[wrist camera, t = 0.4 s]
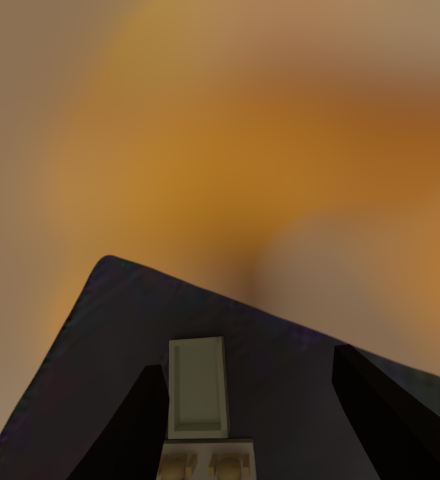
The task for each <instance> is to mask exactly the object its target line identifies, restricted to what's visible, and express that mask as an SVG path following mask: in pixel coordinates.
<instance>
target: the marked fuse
mask: <svg viewBox="0 0 440 480" xmlns="http://www.w3.org/2000/svg"><path fill="white" fill-rule="evenodd" d="M184 477H185V461H184V460H183V459H181V458H173V459H169V460H167V461H165V462H164V463H163V464H162V466H161V480H184Z"/></svg>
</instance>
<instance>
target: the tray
mask: <svg viewBox="0 0 440 480" xmlns="http://www.w3.org/2000/svg"><path fill="white" fill-rule="evenodd" d="M169 397H170V403H169V430H168V439H195V438H228V436H229V432H230V414H229V400H228V386H227V372H226V357H225V343H224V336H219V337H205V338H191V339H177V340H170V341H169Z"/></svg>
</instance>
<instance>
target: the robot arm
mask: <svg viewBox="0 0 440 480" xmlns="http://www.w3.org/2000/svg"><path fill="white" fill-rule="evenodd" d="M332 384H333V386H334V389H335V391H336V394H337V396H338V398H339V401H340V403H341V405H342V408H343V410H344V412H345V414H346V416H347V418H348V420H349V422H350V423H351V425H352V427H353V429H354V431H355V433H356V435H357V437H358V438H359V440H360V442H361V444H362V446H363V448H364V450H365V451H366V453H367V455H368V457H369V459H370V461H371V463H372V464H373V466H374V468H375V470H376V472H377V474H378V475H379V477H380V479H381V480H440V417H439V416H438V415H436V414H435V413H434V412H432V411H431V410H430V409H428V408H427V407H426V406H424V405H423V404H422V403H421V402H419V401H418V400H417V399H415V398H414V397H413V396H412V395H410V394H409V393H408V392H407V391H405V390H404V389H403V388H402V387H400V386H399V385H398V384H397V383H395V382H394V381H393V380H392V379H390V378H389V377H388V376H387V375H386V374H384V373H383V372H382V371H381V370H380V369H378V368H377V367H376V366H375V365H374V364H372V363H371V362H370V361H369V360H368V359H367V358H365V357H364V356H363V355H362V354H361V353H359V352H358V351H357V350H356V349H355V348H353V347H352V346H351V345H350V344H348V345H339V346H335V347H334V360H333V373H332ZM169 403H170V397H169V394H168V390H167V386H166V383H165V379H164V375H163V371H162V368H161V364H160V365H150V366H146V367H145V368H144V369H143V371H142V372H141V374H140V376H139V377H138V379H137V380H136V382H135V384H134V385H133V387H132V388H131V390H130V391H129V393H128V394H127V396H126V397H125V399H124V401H123V402H122V404H121V405H120V407H119V408H118V410H117V411H116V412H115V414H114V415H113V417H112V418H111V420H110V421H109V423H108V424H107V426H106V427H105V429H104V430H103V431H102V433H101V434H100V435H99V437H98V438H97V440H96V441H95V442H94V444H93V445H92V446H91V448H90V449H89V450H88V452H87V453H86V455H85V456H84V457H83V459H82V460H81V461H80V463H79V464H78V465H77V466H76V468H75V469H74V470H73V472H72V473H71V474H70V475H69V477H68V478H67V479H66V480H156V478H157V473H158V468H159V464H160V459H161V454H162V449H163V444H164V439H165V434H166V429H167V421H168V413H169Z"/></svg>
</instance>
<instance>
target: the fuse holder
mask: <svg viewBox="0 0 440 480" xmlns="http://www.w3.org/2000/svg"><path fill="white" fill-rule="evenodd" d="M173 458H181V459H183V460H184V461H185V477H184V480H218V479H217V463H218V462H219V461H220V460H222V459H224V458H236V459H238V460H239V461H240V464H241V480H257V475H256V465H255V455H254V445H253V439H193V440H164V444H163V449H162V454H161V459H160V464H159V468H158V473H157V478H156V480H161V466H162V464H163V463H164V462H165V461H167V460H169V459H173Z"/></svg>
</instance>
